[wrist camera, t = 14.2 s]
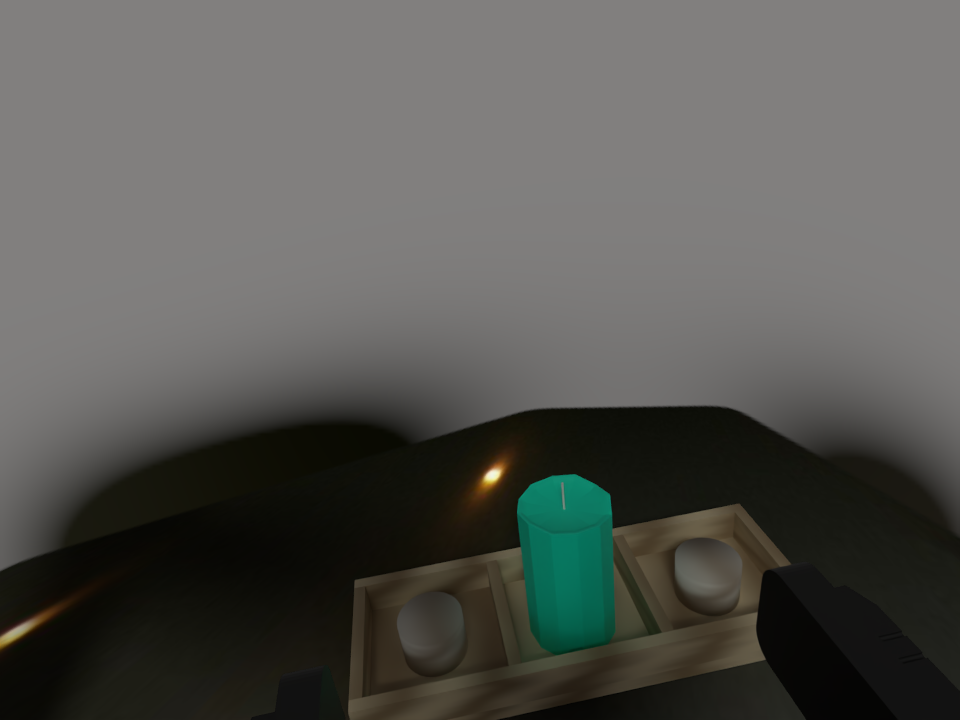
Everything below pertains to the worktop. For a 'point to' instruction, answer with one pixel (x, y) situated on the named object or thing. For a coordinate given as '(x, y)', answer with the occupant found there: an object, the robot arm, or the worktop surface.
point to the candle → (568, 563)
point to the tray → (516, 653)
